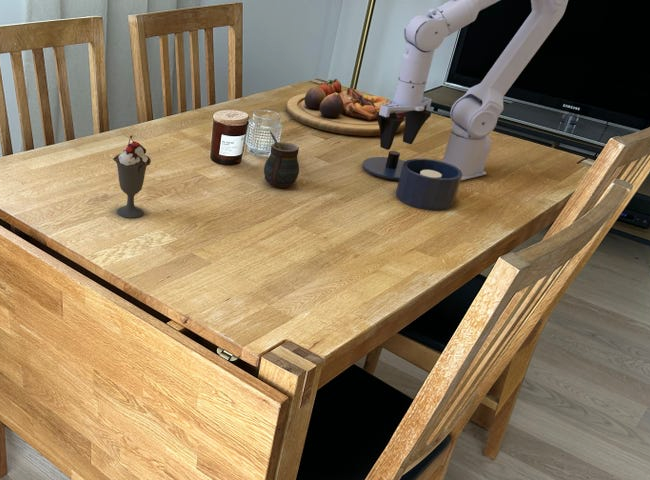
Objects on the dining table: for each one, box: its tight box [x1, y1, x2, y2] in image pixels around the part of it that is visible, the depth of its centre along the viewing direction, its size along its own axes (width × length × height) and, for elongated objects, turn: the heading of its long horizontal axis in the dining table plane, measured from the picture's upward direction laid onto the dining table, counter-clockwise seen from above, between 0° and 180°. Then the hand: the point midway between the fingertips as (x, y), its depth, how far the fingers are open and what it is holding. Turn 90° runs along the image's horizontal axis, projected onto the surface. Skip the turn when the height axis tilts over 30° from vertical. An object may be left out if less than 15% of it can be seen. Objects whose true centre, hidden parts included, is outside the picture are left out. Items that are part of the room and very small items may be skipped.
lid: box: [361, 150, 406, 181], centre depth 159 cm, size 12×12×4 cm
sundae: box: [112, 134, 152, 219], centre depth 130 cm, size 7×7×15 cm
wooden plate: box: [285, 78, 405, 137], centre depth 189 cm, size 32×32×8 cm
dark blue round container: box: [395, 158, 462, 211], centre depth 147 cm, size 11×11×6 cm
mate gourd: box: [263, 131, 300, 189], centre depth 147 cm, size 7×8×10 cm
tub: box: [420, 170, 442, 178], centre depth 147 cm, size 4×4×5 cm
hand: (396, 145), depth 157 cm, fingers open, 7 cm apart
